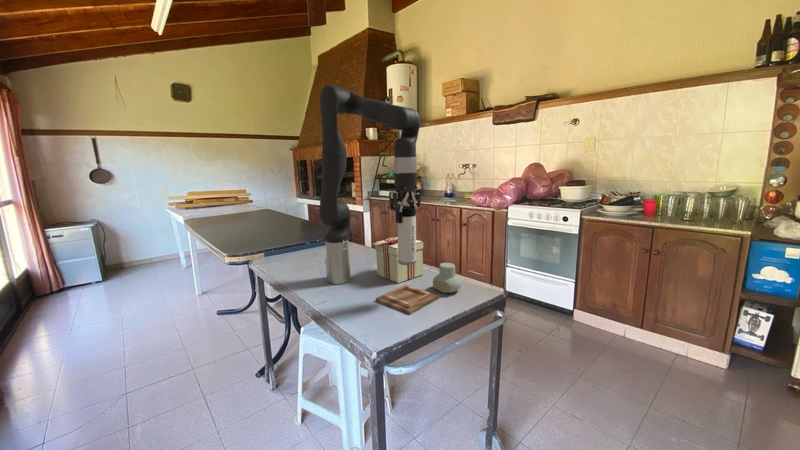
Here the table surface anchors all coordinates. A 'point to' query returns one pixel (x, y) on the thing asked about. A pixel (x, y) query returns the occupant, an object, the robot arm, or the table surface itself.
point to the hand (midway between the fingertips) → (406, 221)
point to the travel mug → (407, 237)
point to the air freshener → (447, 279)
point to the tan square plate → (407, 299)
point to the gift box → (389, 261)
